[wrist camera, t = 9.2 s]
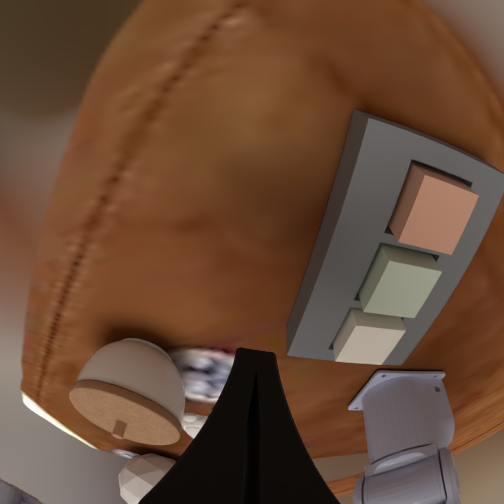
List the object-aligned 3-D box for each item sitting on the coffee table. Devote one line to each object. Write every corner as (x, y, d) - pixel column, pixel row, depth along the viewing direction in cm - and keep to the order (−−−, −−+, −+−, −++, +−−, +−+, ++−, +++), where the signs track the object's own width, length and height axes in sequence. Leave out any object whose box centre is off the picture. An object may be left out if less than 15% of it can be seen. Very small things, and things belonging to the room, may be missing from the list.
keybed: (484, 160, 15) (509, 177, 13) (393, 338, 25) (400, 365, 22) (353, 109, 15) (369, 117, 13) (286, 326, 25) (286, 355, 22)
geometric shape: (178, 435, 53) (213, 492, 41) (167, 470, 56) (196, 520, 44) (110, 441, 44) (138, 509, 33) (109, 477, 47) (133, 533, 36)
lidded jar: (196, 334, 26) (172, 431, 18) (195, 393, 32) (179, 467, 24) (87, 309, 26) (44, 389, 18) (108, 372, 32) (82, 438, 24)
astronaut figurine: (276, 429, 37) (275, 448, 34) (200, 434, 40) (197, 451, 38) (252, 401, 33) (250, 424, 30) (168, 407, 36) (163, 427, 33)
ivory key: (396, 304, 20) (405, 330, 18) (375, 338, 22) (381, 364, 20) (349, 297, 20) (356, 325, 18) (331, 334, 22) (335, 361, 20)
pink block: (456, 177, 15) (479, 195, 13) (434, 231, 17) (451, 255, 15) (405, 158, 15) (424, 174, 12) (383, 218, 17) (397, 242, 15)
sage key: (426, 247, 18) (442, 271, 15) (403, 292, 20) (414, 318, 18) (377, 235, 17) (389, 260, 15) (355, 284, 20) (363, 311, 17)
